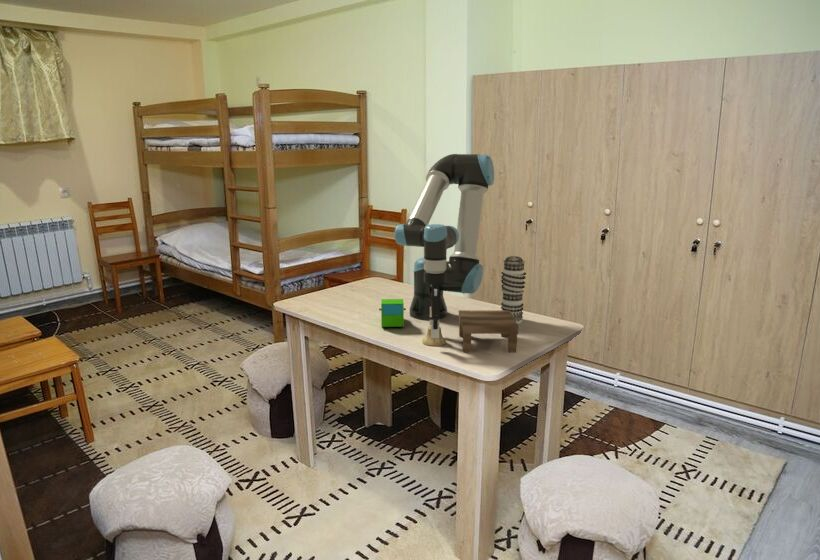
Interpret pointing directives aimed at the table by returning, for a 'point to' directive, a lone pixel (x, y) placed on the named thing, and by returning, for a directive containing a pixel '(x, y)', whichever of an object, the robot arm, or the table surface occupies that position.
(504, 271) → the decorative candle
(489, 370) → the table surface
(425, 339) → the hand bell
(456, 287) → the robot arm
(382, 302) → the toy car
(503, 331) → the walnut stool
